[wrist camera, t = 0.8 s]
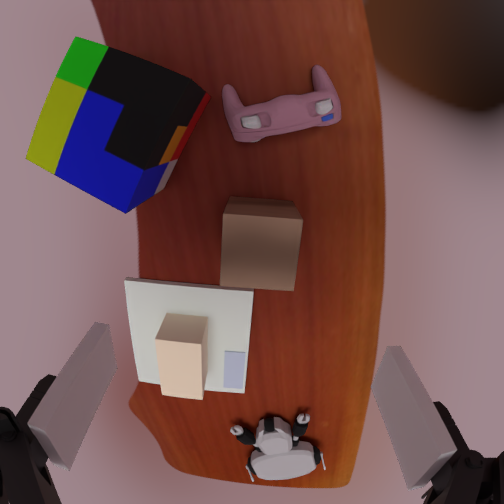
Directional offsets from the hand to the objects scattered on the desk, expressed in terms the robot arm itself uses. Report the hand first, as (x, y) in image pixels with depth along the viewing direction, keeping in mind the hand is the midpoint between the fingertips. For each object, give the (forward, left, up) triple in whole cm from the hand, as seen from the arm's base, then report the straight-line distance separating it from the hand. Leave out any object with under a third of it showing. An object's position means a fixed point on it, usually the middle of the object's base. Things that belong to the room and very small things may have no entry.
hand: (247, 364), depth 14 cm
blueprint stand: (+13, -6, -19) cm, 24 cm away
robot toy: (+32, +7, -19) cm, 38 cm away
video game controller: (-13, +2, -19) cm, 23 cm away
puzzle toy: (-11, -11, -19) cm, 25 cm away
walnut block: (-1, +1, -19) cm, 19 cm away
